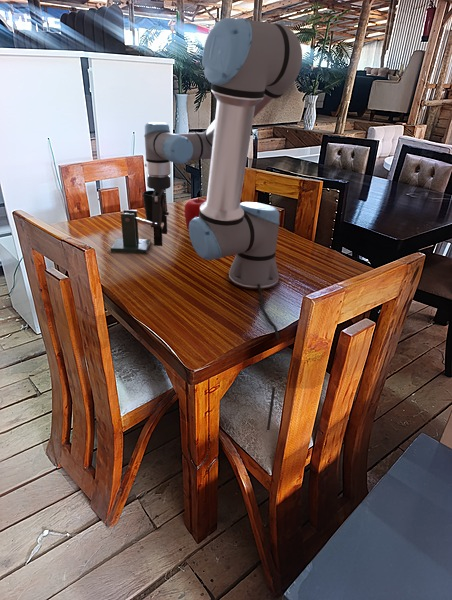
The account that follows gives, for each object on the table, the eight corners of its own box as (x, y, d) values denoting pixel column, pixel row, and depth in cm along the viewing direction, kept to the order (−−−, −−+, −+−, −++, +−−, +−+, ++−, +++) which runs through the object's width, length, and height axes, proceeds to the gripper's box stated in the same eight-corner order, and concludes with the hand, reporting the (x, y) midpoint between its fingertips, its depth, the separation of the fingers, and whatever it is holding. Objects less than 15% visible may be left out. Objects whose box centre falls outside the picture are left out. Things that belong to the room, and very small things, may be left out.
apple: (186, 226, 162) (186, 193, 156) (211, 228, 162) (212, 195, 155) (182, 235, 153) (182, 200, 146) (209, 237, 153) (210, 202, 146)
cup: (140, 222, 164) (138, 193, 158) (151, 217, 170) (150, 189, 164) (155, 226, 161) (154, 196, 155) (166, 221, 167) (165, 192, 161)
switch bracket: (151, 243, 145) (149, 208, 139) (146, 253, 136) (144, 217, 130) (117, 241, 145) (114, 207, 138) (110, 252, 136) (107, 215, 130)
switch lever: (163, 227, 140) (164, 221, 139) (161, 232, 135) (162, 226, 134) (126, 216, 138) (127, 210, 137) (122, 221, 133) (123, 215, 132)
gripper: (152, 167, 138) (155, 227, 149) (139, 182, 118) (143, 251, 129) (174, 168, 138) (175, 228, 149) (165, 184, 118) (167, 252, 129)
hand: (160, 239), depth 139 cm, fingers open, 11 cm apart
